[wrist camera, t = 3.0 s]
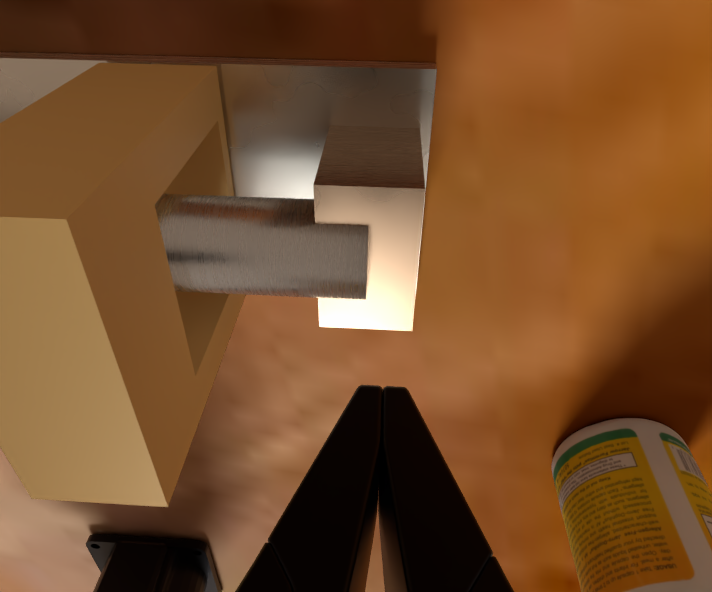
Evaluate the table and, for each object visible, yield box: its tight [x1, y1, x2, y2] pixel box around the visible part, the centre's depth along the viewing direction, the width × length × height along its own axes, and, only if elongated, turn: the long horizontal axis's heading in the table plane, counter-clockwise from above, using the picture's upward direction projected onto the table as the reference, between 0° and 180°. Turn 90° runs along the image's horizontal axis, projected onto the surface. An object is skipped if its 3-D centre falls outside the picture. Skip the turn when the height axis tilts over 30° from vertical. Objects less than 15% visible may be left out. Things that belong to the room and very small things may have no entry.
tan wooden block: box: [0, 63, 246, 507], centre depth 13 cm, size 3×7×8 cm, turn 0°
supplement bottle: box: [552, 418, 712, 592], centre depth 19 cm, size 5×5×10 cm
